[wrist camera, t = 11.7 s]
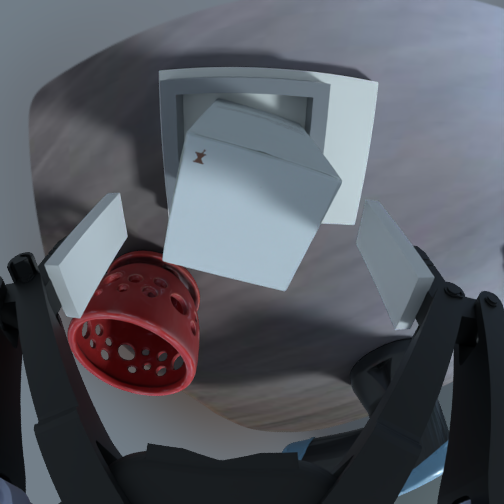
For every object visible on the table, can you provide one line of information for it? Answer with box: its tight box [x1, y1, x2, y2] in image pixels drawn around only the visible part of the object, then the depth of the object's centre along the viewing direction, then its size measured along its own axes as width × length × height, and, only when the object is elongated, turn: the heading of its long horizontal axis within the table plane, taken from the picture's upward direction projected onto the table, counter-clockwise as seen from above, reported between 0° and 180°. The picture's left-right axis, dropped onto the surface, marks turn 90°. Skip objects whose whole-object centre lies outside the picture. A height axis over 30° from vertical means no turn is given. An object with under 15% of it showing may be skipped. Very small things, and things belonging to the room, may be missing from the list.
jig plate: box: [159, 67, 378, 225], centre depth 24 cm, size 14×18×4 cm
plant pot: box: [68, 251, 200, 396], centre depth 30 cm, size 13×13×12 cm
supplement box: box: [162, 98, 342, 291], centre depth 19 cm, size 7×7×13 cm
